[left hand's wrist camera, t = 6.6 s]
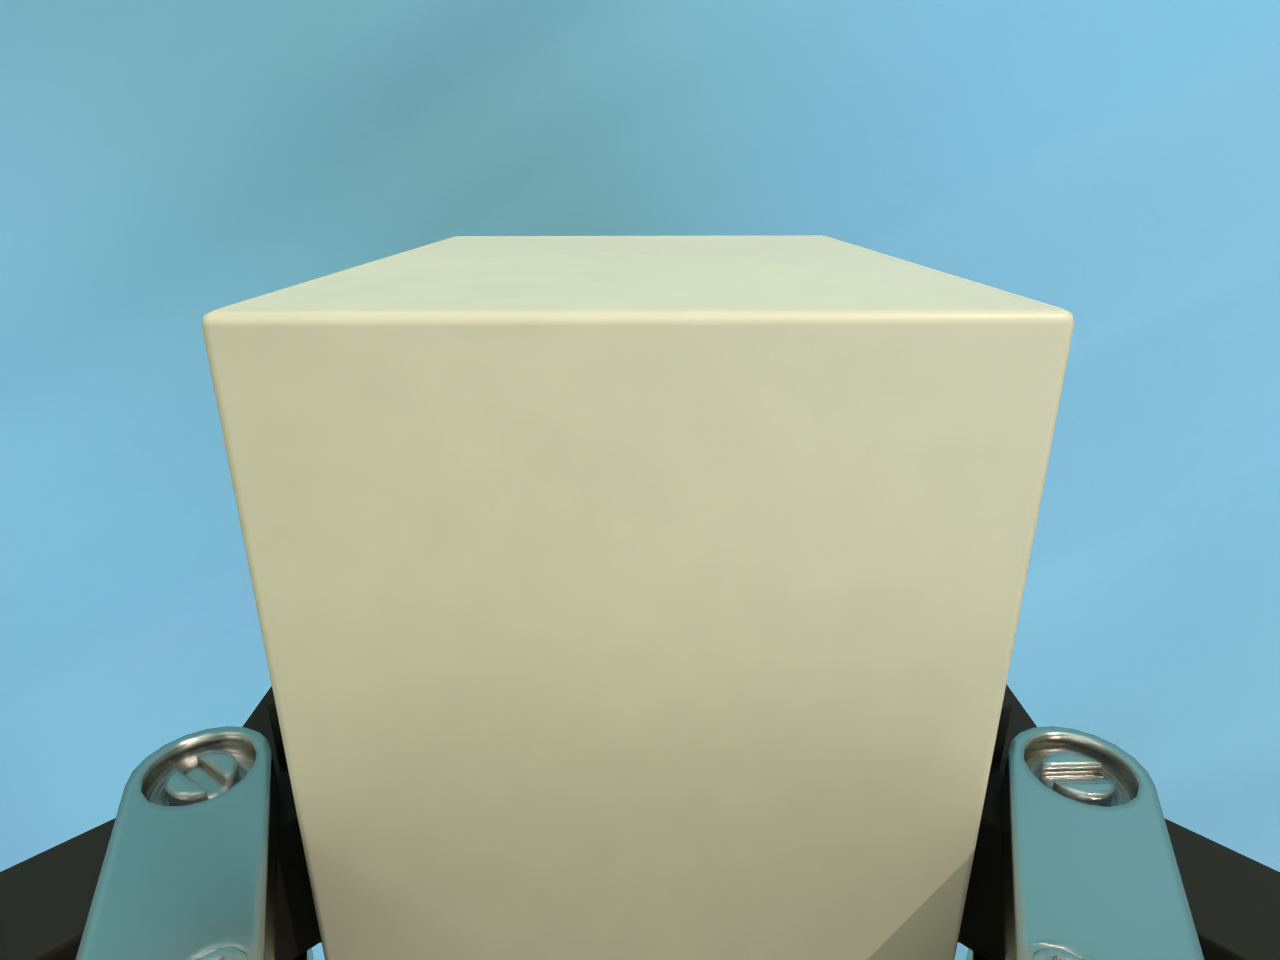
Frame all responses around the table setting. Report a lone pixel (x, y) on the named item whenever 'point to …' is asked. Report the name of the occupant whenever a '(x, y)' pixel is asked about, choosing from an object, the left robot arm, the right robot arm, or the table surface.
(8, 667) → the table surface
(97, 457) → the table surface
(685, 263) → the block
